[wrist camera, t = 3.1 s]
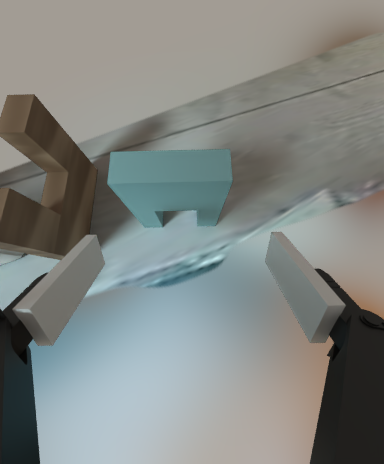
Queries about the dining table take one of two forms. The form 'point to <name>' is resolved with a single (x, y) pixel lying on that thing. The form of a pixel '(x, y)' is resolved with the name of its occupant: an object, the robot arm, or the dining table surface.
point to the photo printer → (9, 256)
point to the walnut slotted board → (56, 185)
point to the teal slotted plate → (171, 183)
